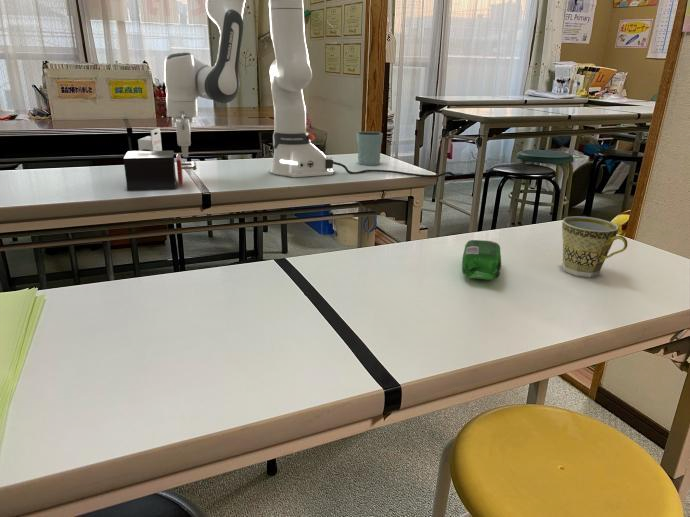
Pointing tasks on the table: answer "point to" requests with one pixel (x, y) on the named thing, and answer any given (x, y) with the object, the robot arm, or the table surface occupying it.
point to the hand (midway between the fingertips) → (185, 156)
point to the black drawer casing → (150, 170)
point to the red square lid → (179, 168)
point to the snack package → (481, 260)
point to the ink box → (151, 142)
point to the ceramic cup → (587, 244)
